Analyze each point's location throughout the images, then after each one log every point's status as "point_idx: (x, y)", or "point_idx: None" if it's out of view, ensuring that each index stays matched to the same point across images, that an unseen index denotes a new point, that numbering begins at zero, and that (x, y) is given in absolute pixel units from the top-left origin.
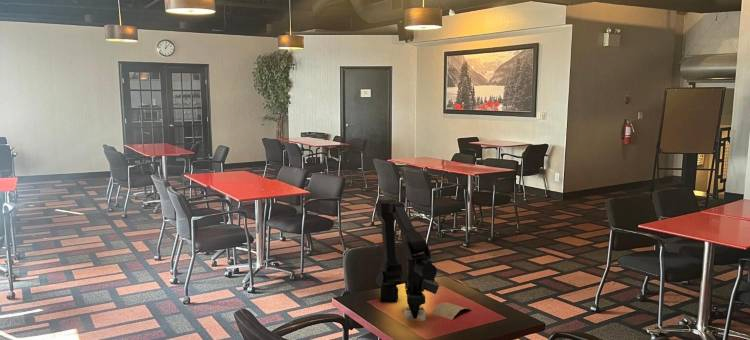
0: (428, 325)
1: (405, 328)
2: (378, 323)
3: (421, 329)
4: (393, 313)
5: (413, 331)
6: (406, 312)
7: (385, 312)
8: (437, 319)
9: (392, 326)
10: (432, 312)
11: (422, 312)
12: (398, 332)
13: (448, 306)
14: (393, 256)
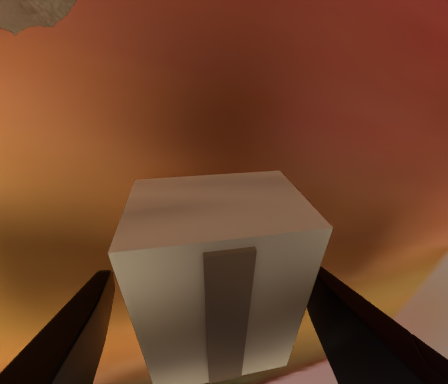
0: (397, 160)
1: (365, 290)
2: (263, 373)
3: (428, 216)
4: (119, 351)
5: (423, 257)
6: (286, 359)
7: (107, 378)
8: (296, 14)
9: (315, 333)
10: (9, 20)
11: (315, 250)
12: (391, 310)
13: None
14: None
